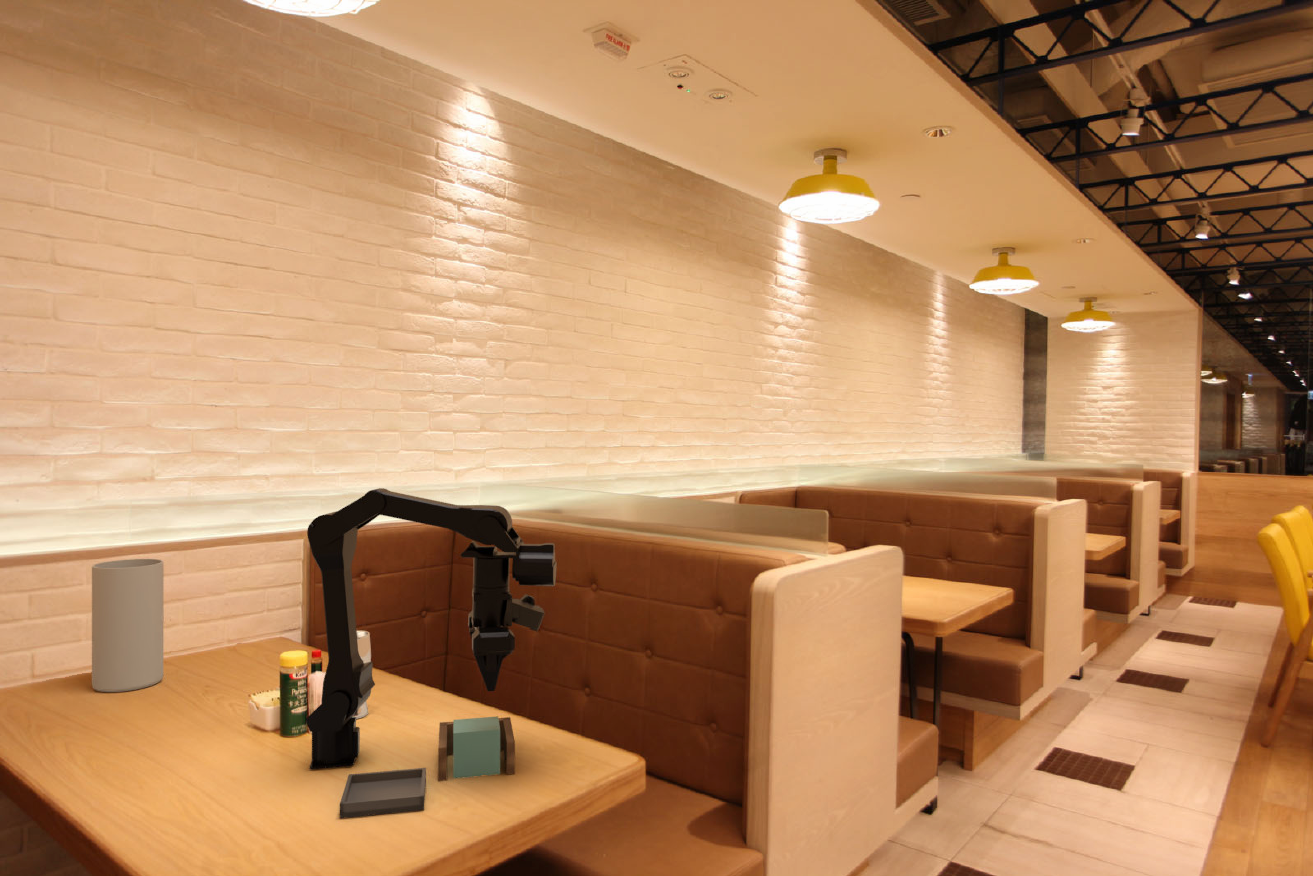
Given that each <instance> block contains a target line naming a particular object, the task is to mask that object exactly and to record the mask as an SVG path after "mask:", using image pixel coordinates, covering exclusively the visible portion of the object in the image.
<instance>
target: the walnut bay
mask: <svg viewBox="0 0 1313 876" xmlns="http://www.w3.org/2000/svg"><path fill="white" fill-rule="evenodd" d="M498 718H499V725H500V750H501V751H502V752H504V753H503V758H504V765H506V766H505V771H506V775H507V774H509V775H515V774H516V765H515V763H516V762H515V761H516V756H515V755H516V740H515V735H514V729H513V725H512V720H511V717H510V716H507V717H498ZM438 730H439V731H438V748H437V749H438V750H437V751H438V752H437V753H438V755H437V756H438V757H437V758H438V759H437V761H438V763H437V766H438V768H437V769H438V771H437V773H438V776H437V777H438V782H443V781H448V780H447V779H448V778H447V777H448V776H447V774H448V773H447V771H448V769H447V768H448V756H450V755H449V754H453V721H443V722H441V721H440V722H439V727H438Z"/></svg>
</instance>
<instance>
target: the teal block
mask: <svg viewBox="0 0 1313 876" xmlns="http://www.w3.org/2000/svg"><path fill="white" fill-rule="evenodd" d="M499 718H500V717H499V716H486V717H473V718H459V719H453V721H452V722H453V758H452V761H453V765H452V766H453V767H452V768H453V775H452V776H453V777H452V778H455V779H462V778H463V777H465V778H475V777H474V776H476V777H483V776H482V775H487V776H495V774H498V775H501V751H500V725H499ZM463 779H464V778H463Z"/></svg>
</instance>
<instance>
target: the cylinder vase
mask: <svg viewBox="0 0 1313 876" xmlns="http://www.w3.org/2000/svg"><path fill="white" fill-rule="evenodd" d="M163 678H164V560H162V559H156V558H134V559H133V558H132V559H118V560H111V561H103V562H98V563H95V564H92V565H91V687H92V688H93V689H94V690H95V691H98V692H103V693H123V692H131V691H136V690H141V689H146V688H148V687H152V686H154V685H156V684H158V683H159V682H161V681H162V680H163Z"/></svg>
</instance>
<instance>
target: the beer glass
mask: <svg viewBox="0 0 1313 876" xmlns="http://www.w3.org/2000/svg"><path fill="white" fill-rule="evenodd" d="M356 631H357V643H358V652H359V655H360V657H361V659H362V661H363V663H367V662H372V661H371V659H372V649H371V647H372V646H371V637H370V635H371V632H369V631H367V630H358V629H356ZM368 707H369V706H368V702H367V700H366V701H365V703H364V704H363V705H362V706H361V707H360V708H359V709H358V712H357V713H356V714H355V715H354V716H353V717H356V720H359V719H362V718H365V717H366V716H367V715H368V714H369V708H368Z"/></svg>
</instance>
